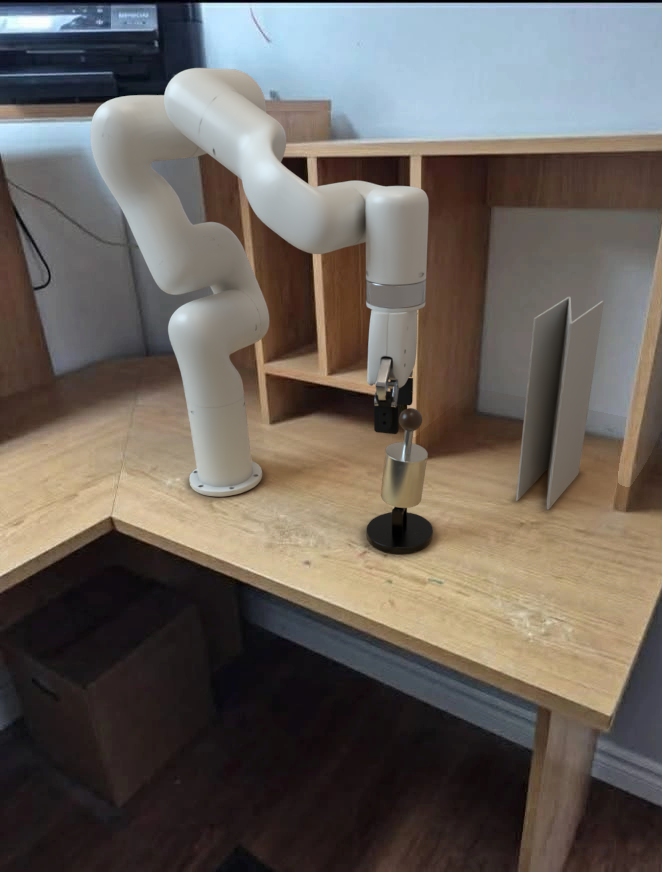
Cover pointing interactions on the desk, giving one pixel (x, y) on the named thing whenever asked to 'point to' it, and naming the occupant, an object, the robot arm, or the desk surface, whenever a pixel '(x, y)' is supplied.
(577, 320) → the brochure
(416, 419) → the knobbed metal cylinder
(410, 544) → the holder base
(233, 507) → the desk surface
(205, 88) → the robot arm
